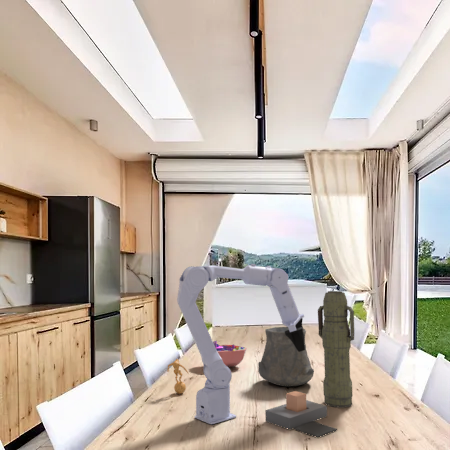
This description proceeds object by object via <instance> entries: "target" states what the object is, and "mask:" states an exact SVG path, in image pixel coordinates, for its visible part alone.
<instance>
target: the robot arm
mask: <svg viewBox="0 0 450 450" xmlns="http://www.w3.org/2000/svg"><path fill="white" fill-rule="evenodd" d="M216 279H232V280H233V279H235V280H241V281H243V283H244V284H246V285H250V286H251V285H253V286H261V287H262V286H263V287H264V286H265V287H266V286H267V287H269V289H270V292H271V294H272V298H273V300H274V303H275V305H276V308H277V311H278V313H279V316H280V319H281V323H282V325H283V326H284V327H288V328H289V330H287V331H285V335H286V336H287V337H288V338H289V339H290V340H291V341H292V342H293V344H294V346H295V347H296V349H297V350H298V352H300V351H303V350H305V344H306V338H305V339H304V334H303V328H304V327H303V318H305V314H304V313H301V314H300V312H299V310H298V307H297V304H296V302H295V298H294V296H293V293H292V291H291V288H290V286H289V283H288V282H289V274H288V273H287V272H286V271H285V270H284V269H282V268H279V267H278V268H277V267H271V265H266V266H259V265H257V264H255V263H251V264H250V265H248V264H247V265H246V266H245V267H243V268H237V267H231V266H230V267H229V266H221V265H201V266H200V265H199V266H198V265H197V266H196V265H195V266H194V265H193V266H188V267H186V268H185V269H184V270H183V271H182V273H181V275H180V277H179V279H178V281H179V284H178V292H177V296H176V301H177V305H178V307H179V309H180V311H181V314H182V316H183V318H184V321H185V323H186V324H187V327H188V329H189V332H190V334H191V336H192V339H193V341H194V344H195V345H196V347H197V350H198V353H199V355H200V357H201V362H202V364H203V365H202V366H203V374H204V376H205V378H206V381H205V383H204V386H203V388H201V389H199V390H197V392H196V395H195V402H196V403H195V409H196V410H195V412H196V413H195V415H194V419H197V420H198V421H202V422H205V423H206V424H208V425H214V424H217V423H221V422H225V421H228V420H231V419H235V418H237V415H236V414H233V413H231V395H230V393H231V391H230V390H231V385H230V383H231V381H232V377H233V375H232V374H233V373H232V370H231V368H230V367H227V366H226V365H225V364H224V363H223V361H222V359H221V357H220V355H219V354H218V352H217V350H216V348H215V346H214V343H213V342H214V341H213V339H212V336H211V334H210V332H209V329H208V327H207V326H206V323H205V321H204V319H203V316H202V314H201V312H200V309H199V307H198V305H197V302H196V301H197V298H198V297H199V294H200V292H201V291H202V290H203V289H204V288H205V287H206V286H207V285H208V283H209V282H213V281H215V280H216ZM304 342H305V344H304Z"/></svg>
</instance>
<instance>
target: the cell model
mask: <svg viewBox="0 0 450 450" xmlns="http://www.w3.org/2000/svg"><path fill="white" fill-rule="evenodd" d="M213 343H214V346H215V348H216V350H217V352H218V354H219V355H220V357H221V359H222V361H223V363H224V364H225V365H226V366H227V367H228V368H234V367H237V366H238V365H239V364H240V363H242V361H243V360H244V357H245V354H246V351H247V347H244V346H240V345H235V344H218V341H217V340H214V341H213Z"/></svg>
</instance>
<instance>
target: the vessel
mask: <svg viewBox="0 0 450 450" xmlns="http://www.w3.org/2000/svg"><path fill="white" fill-rule="evenodd" d="M287 330H289V328H288V327H287V326H278V327H276V326H275V327H270V328H265V331H264V332H265V335H266V337H265V339H266V340H265V346H264V350H263V353H262V356H261V360H260V361H259V362H258V363H257V365H258V366H257V367H258V374H259V376H260V377H261V378H262V379H263V380H264V381H267V382H269V383H271V384H273V385H276V386H281V387H297V386H302V385H305V384H307V383H308V382H310V381H311V380H312V379H313V377H314V374H315V373H314V372H315V370H314V368H313V367H312V365H311V361H310V357H309V355H308V352H307V351H308V350H307V344H306V341H305V342H304V344H305V350H303V351H300V352H298V350H297V349H296V347H295V346H294V344H293V342H292V341H291V340H290V339H289V338H288V337H287V336H286V335H285V331H287ZM306 332H307V330H306V328H304V327H303V334H304V339H305V340H306V334H307V333H306Z"/></svg>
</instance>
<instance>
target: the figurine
mask: <svg viewBox="0 0 450 450" xmlns="http://www.w3.org/2000/svg"><path fill="white" fill-rule="evenodd" d="M179 362H180V361H179V358H176V359H175V360H174V361H172V362H171V363H169V364H168V365H167V371H166V372H167V373H169V372H170V367H173V374H175V381H176V383H175V384H174V386H173V389H174V392H175V393H176V394H178V395H182V394H183V393H185V392H186V389H187V386H186V383H184V382H183V381H182V380H181V379H182V377H183V373H182V371H181V370H180V368H182V369H183V370H184V371H185V372H186V373H187V374H189V371H188V370H187V368H186V367H185V366H183V365H182V364H181V363H179ZM178 375H179V379H178Z"/></svg>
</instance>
